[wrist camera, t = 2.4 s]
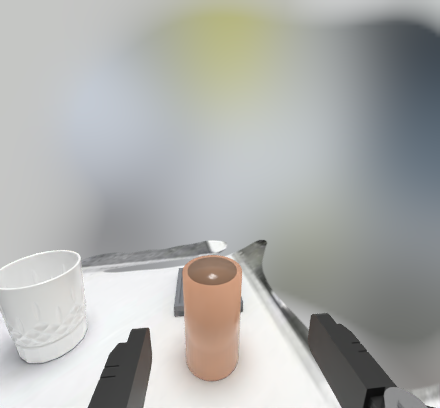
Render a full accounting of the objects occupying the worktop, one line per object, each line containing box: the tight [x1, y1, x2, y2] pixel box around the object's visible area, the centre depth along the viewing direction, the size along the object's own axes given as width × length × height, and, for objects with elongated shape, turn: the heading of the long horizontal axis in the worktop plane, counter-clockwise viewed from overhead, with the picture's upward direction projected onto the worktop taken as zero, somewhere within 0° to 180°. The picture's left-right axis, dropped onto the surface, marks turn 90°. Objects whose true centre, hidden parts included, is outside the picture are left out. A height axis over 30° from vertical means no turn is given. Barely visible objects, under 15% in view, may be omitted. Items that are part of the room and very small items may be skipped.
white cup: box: [0, 250, 88, 363], centre depth 26 cm, size 8×8×10 cm
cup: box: [182, 255, 242, 381], centre depth 24 cm, size 6×6×11 cm
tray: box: [174, 268, 243, 316], centre depth 36 cm, size 10×10×2 cm
